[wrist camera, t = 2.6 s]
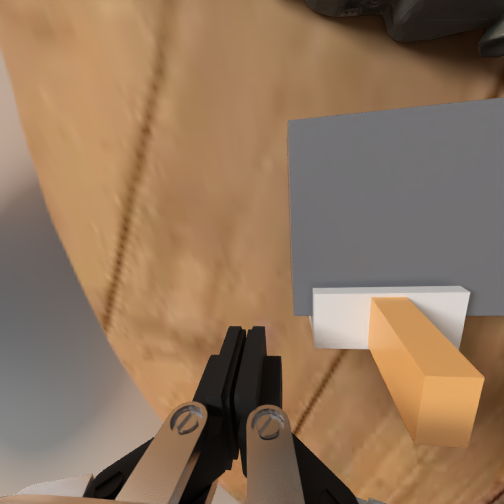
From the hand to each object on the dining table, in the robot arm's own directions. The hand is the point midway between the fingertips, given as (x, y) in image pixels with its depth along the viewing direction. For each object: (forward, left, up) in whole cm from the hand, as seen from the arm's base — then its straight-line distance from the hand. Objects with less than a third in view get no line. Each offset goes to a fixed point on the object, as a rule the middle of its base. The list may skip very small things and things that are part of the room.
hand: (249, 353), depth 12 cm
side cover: (-7, -1, -10) cm, 12 cm away
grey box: (-12, -5, -10) cm, 16 cm away
